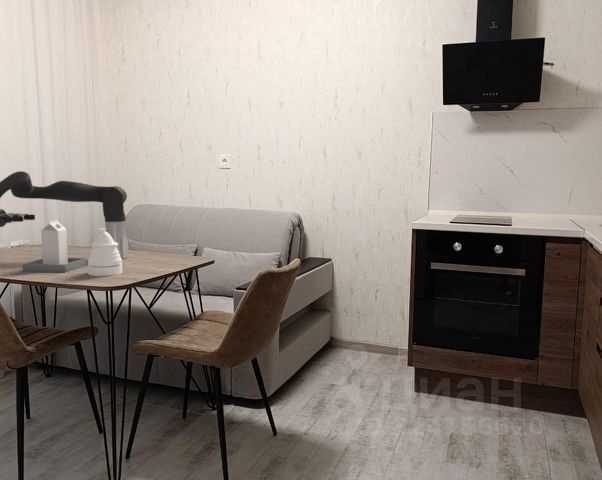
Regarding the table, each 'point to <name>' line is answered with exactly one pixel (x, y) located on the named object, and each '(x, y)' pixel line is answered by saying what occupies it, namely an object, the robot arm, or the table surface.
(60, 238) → the milk carton
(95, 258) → the honey pot
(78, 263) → the charcoal tray
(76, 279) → the table surface
